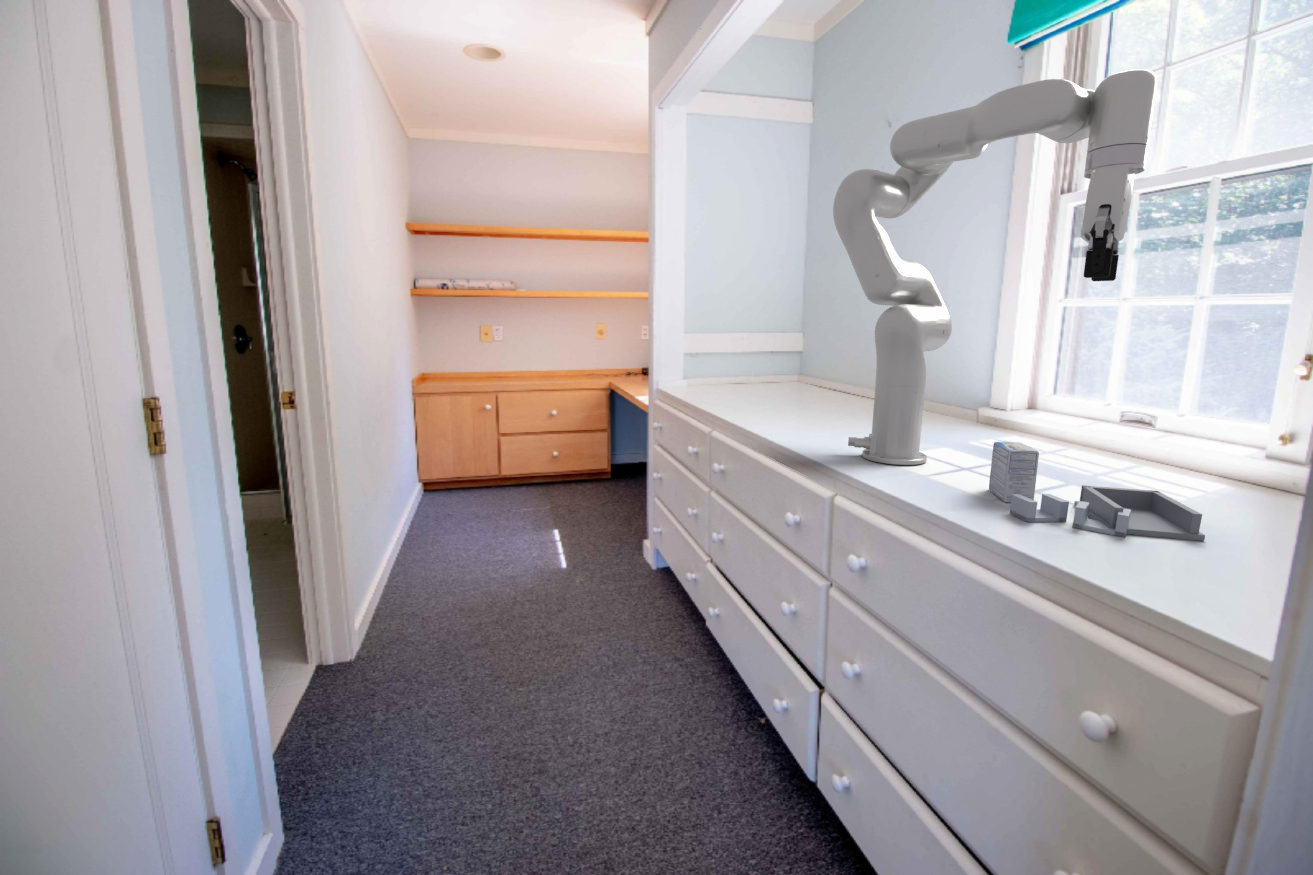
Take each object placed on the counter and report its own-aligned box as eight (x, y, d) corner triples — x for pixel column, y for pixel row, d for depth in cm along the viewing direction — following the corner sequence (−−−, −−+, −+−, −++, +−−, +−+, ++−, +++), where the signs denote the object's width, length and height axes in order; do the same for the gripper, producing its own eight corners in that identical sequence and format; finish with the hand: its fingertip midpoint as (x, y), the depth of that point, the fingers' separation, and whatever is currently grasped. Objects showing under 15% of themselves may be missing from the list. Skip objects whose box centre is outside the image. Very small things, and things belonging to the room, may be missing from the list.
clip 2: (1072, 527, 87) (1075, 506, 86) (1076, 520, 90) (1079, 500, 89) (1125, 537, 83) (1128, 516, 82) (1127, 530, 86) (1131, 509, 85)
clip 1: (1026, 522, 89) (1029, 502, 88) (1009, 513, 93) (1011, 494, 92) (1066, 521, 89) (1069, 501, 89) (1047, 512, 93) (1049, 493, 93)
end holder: (1108, 532, 85) (1112, 508, 84) (1074, 505, 97) (1077, 484, 97) (1204, 541, 82) (1208, 515, 81) (1156, 512, 94) (1159, 490, 94)
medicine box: (1033, 504, 98) (1040, 451, 96) (1003, 502, 98) (1009, 450, 97) (1015, 491, 105) (1022, 441, 104) (987, 489, 106) (993, 440, 104)
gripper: (1092, 177, 103) (1078, 283, 106) (1077, 156, 90) (1063, 277, 93) (1149, 170, 98) (1133, 281, 101) (1142, 147, 85) (1124, 274, 88)
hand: (1099, 279), depth 97 cm, fingers open, 9 cm apart
